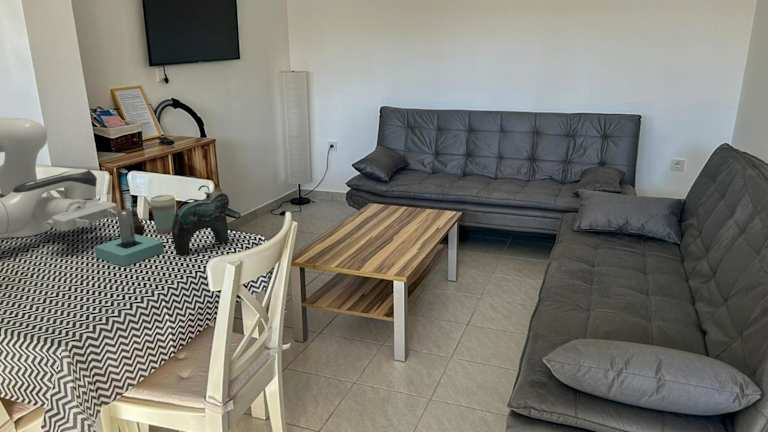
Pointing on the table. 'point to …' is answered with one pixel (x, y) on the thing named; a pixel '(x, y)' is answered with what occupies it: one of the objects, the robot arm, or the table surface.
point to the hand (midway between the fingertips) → (103, 219)
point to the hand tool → (137, 224)
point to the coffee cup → (163, 212)
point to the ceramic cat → (200, 219)
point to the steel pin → (126, 228)
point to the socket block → (129, 251)
